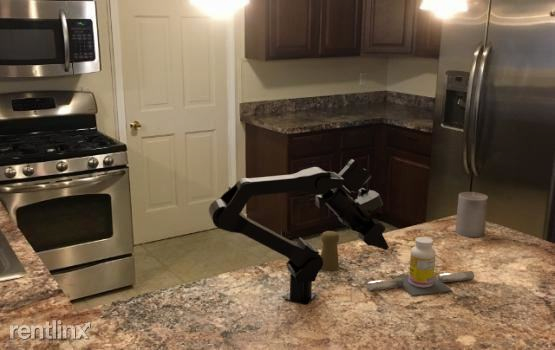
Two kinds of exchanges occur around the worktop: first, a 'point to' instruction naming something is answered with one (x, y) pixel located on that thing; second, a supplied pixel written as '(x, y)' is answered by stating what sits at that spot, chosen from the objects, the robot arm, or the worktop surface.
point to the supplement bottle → (422, 263)
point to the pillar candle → (471, 214)
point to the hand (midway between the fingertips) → (379, 242)
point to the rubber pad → (416, 291)
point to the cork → (330, 251)
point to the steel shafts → (399, 282)
